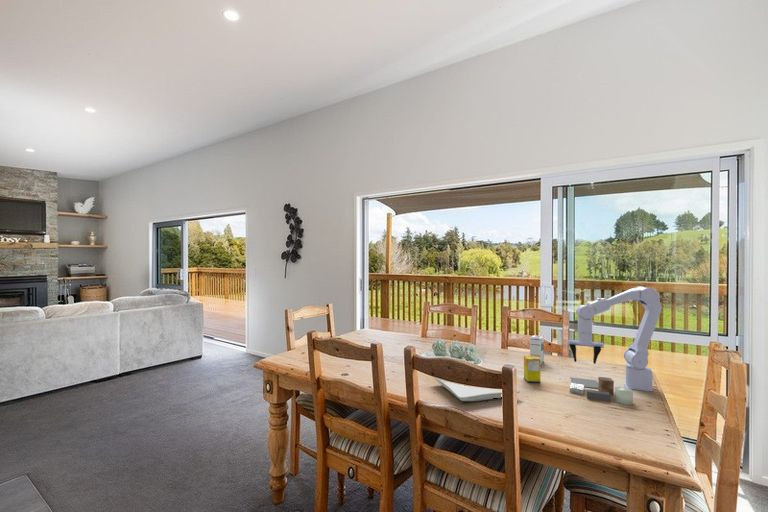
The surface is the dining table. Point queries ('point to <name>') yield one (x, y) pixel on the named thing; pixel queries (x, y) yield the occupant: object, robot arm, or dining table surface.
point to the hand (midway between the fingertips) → (584, 362)
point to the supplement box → (532, 369)
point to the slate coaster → (585, 382)
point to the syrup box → (537, 347)
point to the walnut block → (606, 385)
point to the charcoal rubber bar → (598, 395)
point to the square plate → (470, 392)
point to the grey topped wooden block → (576, 388)
